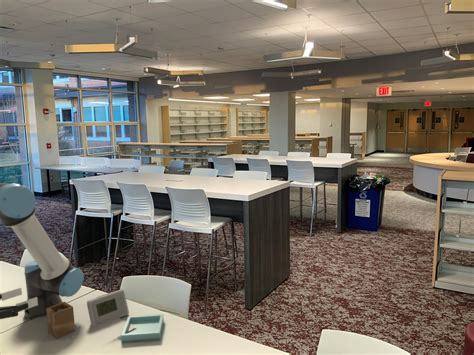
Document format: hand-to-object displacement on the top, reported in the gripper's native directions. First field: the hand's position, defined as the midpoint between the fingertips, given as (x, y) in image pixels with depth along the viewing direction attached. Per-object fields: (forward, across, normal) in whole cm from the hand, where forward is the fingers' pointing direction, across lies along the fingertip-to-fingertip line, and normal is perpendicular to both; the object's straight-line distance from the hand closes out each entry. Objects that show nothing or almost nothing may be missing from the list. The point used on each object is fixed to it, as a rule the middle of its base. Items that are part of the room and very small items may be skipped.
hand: (29, 295), depth 135 cm
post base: (+10, 0, -20) cm, 23 cm away
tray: (+32, +22, -20) cm, 44 cm away
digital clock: (+28, +4, -20) cm, 35 cm away
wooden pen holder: (+10, 0, -19) cm, 21 cm away
